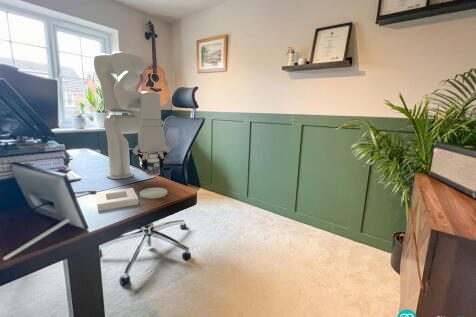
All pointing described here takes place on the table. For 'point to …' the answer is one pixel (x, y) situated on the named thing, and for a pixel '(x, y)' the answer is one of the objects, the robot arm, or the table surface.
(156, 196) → the coaster
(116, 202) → the pocket holder
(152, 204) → the table surface
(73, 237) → the table surface
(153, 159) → the pill bottle
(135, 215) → the table surface
